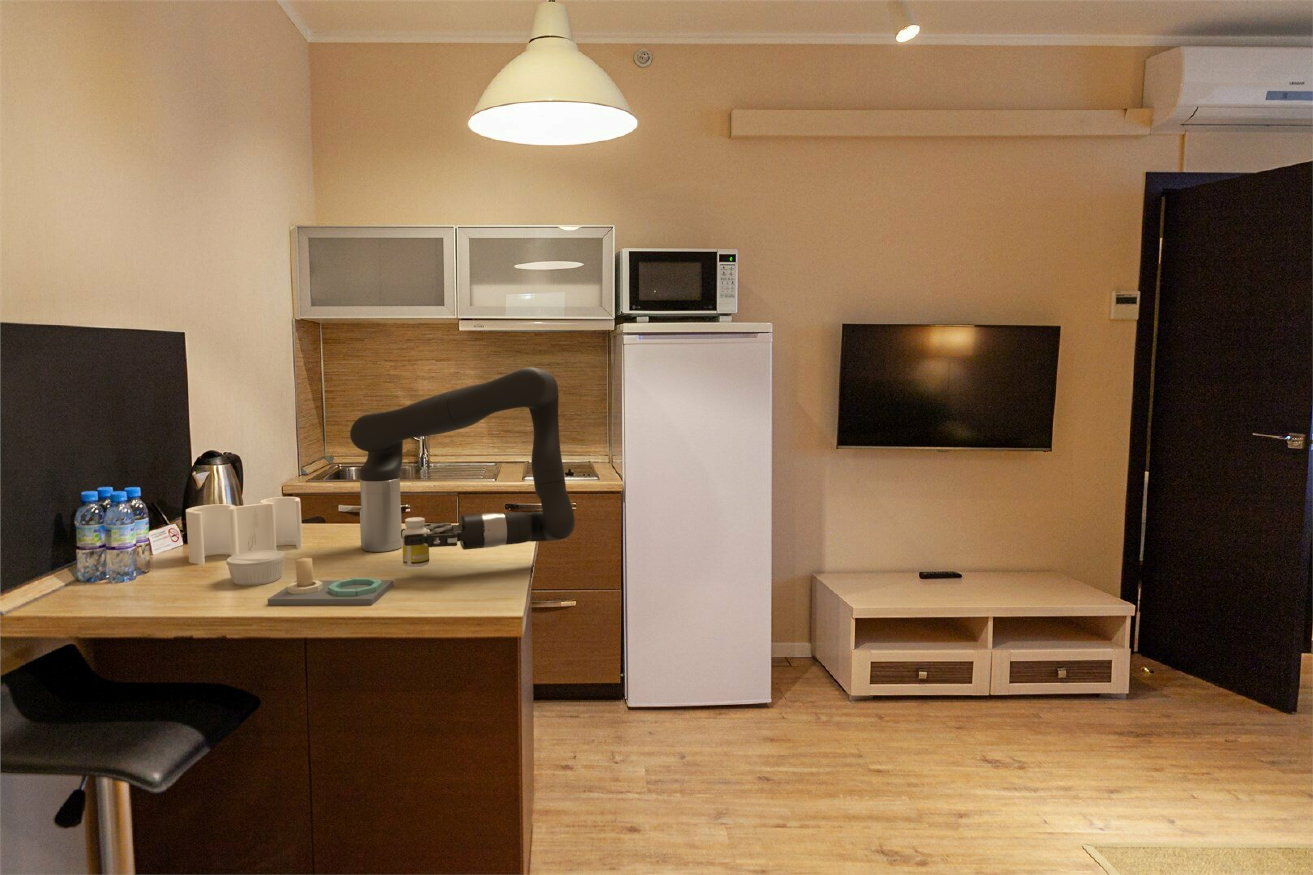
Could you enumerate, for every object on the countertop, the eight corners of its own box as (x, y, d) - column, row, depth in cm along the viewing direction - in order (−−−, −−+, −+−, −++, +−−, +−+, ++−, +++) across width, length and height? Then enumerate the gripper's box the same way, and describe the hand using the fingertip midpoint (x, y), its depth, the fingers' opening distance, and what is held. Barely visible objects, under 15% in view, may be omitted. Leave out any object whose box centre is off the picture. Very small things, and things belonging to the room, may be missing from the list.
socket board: (267, 605, 162) (265, 568, 161) (297, 586, 174) (295, 551, 174) (372, 604, 161) (370, 568, 161) (393, 585, 174) (392, 551, 174)
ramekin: (228, 590, 172) (226, 565, 171) (227, 577, 182) (225, 553, 181) (287, 583, 177) (286, 558, 177) (283, 570, 187) (282, 547, 186)
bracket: (294, 542, 215) (292, 495, 214) (307, 548, 208) (305, 500, 206) (184, 558, 199) (181, 507, 197) (194, 566, 191) (190, 513, 190)
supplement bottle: (434, 562, 181) (433, 517, 180) (419, 568, 176) (418, 522, 175) (413, 560, 183) (411, 515, 182) (397, 566, 178) (396, 520, 177)
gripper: (476, 507, 190) (398, 513, 184) (489, 520, 177) (405, 526, 171) (477, 540, 191) (399, 547, 185) (490, 555, 178) (407, 563, 172)
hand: (403, 537), depth 178 cm, fingers closed on supplement bottle, 5 cm apart
